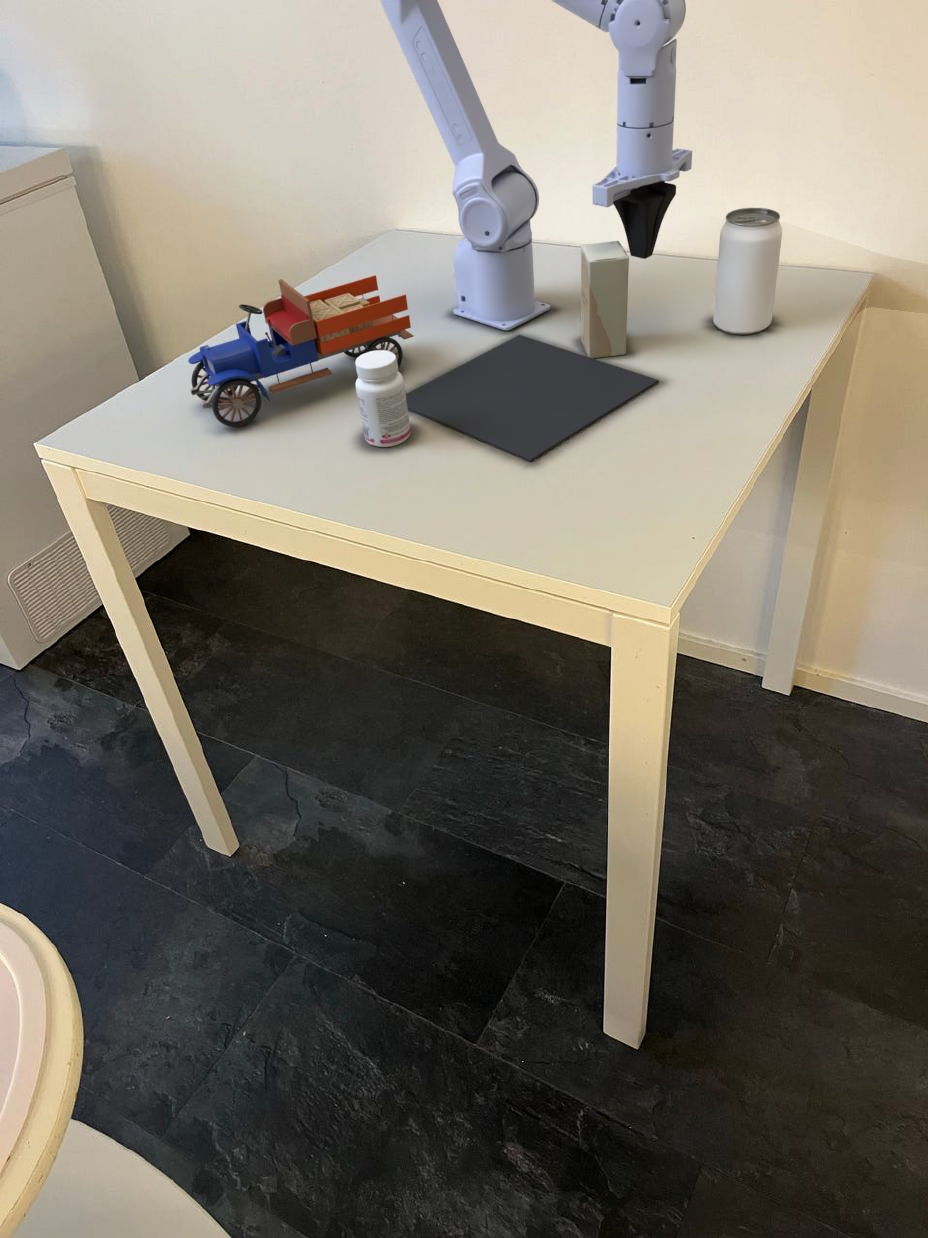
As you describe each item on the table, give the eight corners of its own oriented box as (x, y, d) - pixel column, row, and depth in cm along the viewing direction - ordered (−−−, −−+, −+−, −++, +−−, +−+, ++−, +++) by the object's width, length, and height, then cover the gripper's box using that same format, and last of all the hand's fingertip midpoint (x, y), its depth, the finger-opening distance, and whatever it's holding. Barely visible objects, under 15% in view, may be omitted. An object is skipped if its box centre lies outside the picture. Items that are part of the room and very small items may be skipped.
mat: (392, 403, 103) (392, 400, 103) (519, 336, 113) (519, 334, 113) (530, 462, 91) (530, 459, 91) (658, 382, 101) (658, 379, 101)
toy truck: (191, 408, 106) (162, 311, 99) (391, 343, 115) (378, 249, 108) (216, 437, 101) (187, 337, 93) (424, 367, 109) (412, 270, 102)
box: (580, 340, 111) (579, 243, 103) (617, 335, 111) (619, 238, 103) (589, 360, 106) (588, 260, 99) (627, 355, 107) (629, 255, 99)
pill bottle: (418, 426, 98) (407, 349, 93) (401, 450, 95) (389, 371, 90) (375, 422, 100) (363, 346, 94) (357, 446, 97) (343, 368, 91)
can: (772, 335, 107) (786, 225, 99) (712, 335, 108) (721, 227, 101) (770, 311, 112) (783, 205, 104) (713, 312, 113) (721, 206, 105)
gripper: (632, 144, 92) (629, 284, 100) (719, 107, 99) (710, 241, 108) (575, 135, 96) (577, 270, 105) (663, 101, 103) (658, 230, 112)
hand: (641, 255), depth 106 cm, fingers closed
